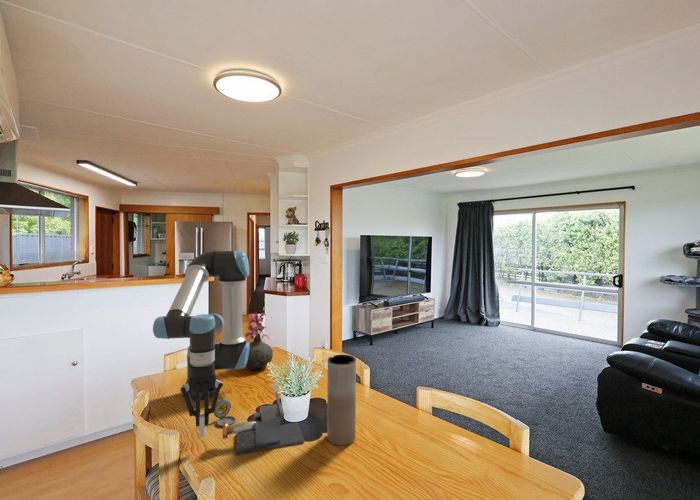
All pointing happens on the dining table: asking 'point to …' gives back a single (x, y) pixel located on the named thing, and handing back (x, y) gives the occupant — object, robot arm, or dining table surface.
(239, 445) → the hitch block
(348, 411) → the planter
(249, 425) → the pin
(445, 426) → the dining table surface
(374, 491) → the dining table surface
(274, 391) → the keeper
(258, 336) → the vase
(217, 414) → the pocket watch
